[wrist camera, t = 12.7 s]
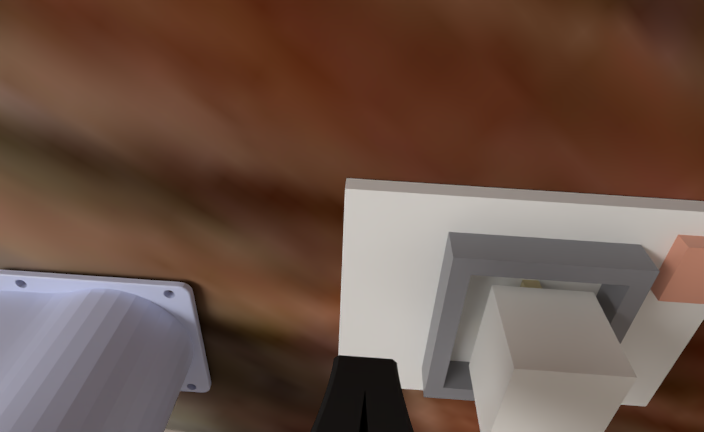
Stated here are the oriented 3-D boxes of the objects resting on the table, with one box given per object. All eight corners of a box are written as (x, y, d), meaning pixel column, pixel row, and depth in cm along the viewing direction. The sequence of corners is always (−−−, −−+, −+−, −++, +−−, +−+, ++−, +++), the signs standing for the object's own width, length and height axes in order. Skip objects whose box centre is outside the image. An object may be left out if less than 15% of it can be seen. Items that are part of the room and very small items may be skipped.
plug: (465, 344, 23) (483, 450, 19) (486, 265, 20) (514, 368, 16) (549, 351, 23) (587, 458, 19) (583, 271, 20) (636, 377, 16)
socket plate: (338, 371, 26) (334, 411, 24) (346, 178, 19) (342, 212, 17) (639, 393, 25) (660, 435, 24) (758, 204, 19) (802, 242, 17)
